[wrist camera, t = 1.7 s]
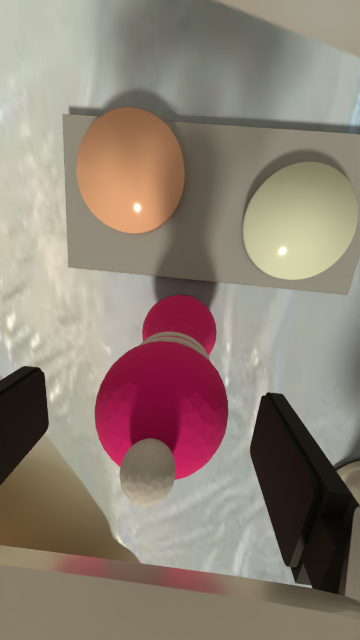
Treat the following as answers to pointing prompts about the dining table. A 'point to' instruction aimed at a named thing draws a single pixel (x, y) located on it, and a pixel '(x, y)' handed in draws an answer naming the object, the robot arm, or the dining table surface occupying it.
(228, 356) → the dining table surface
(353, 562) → the robot arm
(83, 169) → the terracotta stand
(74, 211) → the board
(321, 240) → the pale green domed disc
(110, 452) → the pepper mill
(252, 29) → the dining table surface
